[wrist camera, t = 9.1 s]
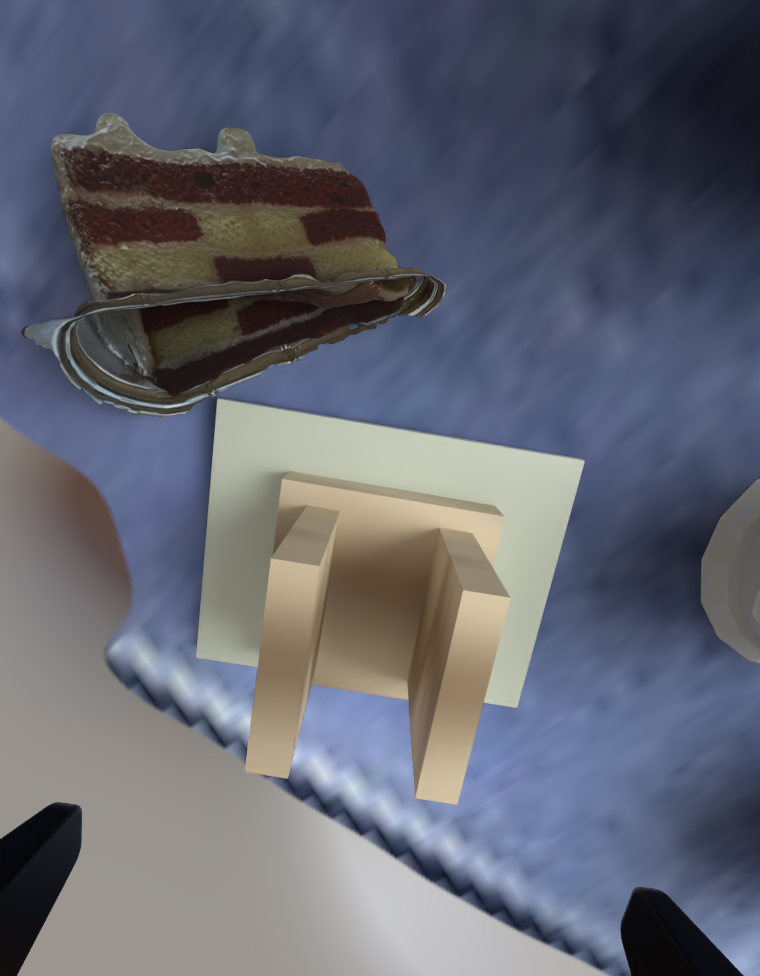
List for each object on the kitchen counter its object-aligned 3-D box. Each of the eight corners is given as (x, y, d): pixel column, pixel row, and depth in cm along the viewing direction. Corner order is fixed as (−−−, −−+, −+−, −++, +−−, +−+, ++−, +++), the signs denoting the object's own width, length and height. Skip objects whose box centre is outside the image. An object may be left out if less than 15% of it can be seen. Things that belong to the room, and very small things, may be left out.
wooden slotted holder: (452, 683, 19) (486, 832, 13) (267, 653, 19) (206, 790, 12) (494, 505, 17) (558, 574, 11) (291, 470, 17) (233, 520, 11)
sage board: (576, 457, 17) (584, 460, 17) (511, 695, 20) (517, 707, 19) (225, 398, 17) (217, 398, 16) (203, 646, 20) (196, 657, 19)
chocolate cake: (401, 104, 15) (-87, -157, 8) (470, 285, 15) (18, 205, 7) (283, 277, 23) (-30, 235, 15) (326, 404, 22) (24, 430, 14)
